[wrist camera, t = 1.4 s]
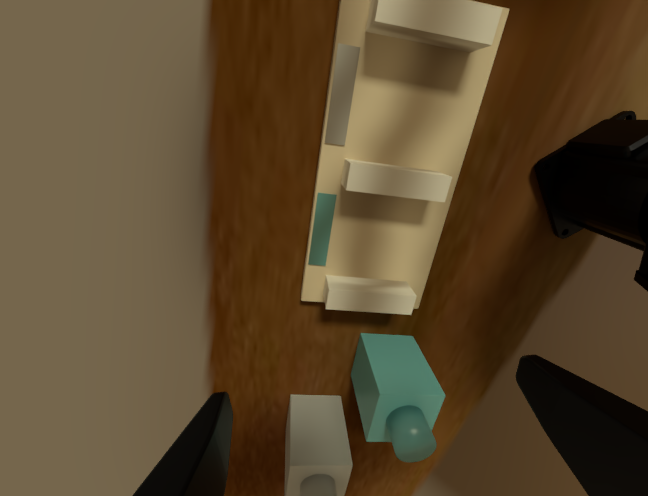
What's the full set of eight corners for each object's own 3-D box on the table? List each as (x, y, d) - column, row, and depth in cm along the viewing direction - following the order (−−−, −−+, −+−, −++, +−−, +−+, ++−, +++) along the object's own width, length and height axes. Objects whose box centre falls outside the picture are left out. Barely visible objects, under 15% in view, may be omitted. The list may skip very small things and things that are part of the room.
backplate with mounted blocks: (500, 13, 17) (536, -5, 15) (414, 302, 24) (428, 324, 22) (342, -22, 16) (352, -49, 13) (300, 294, 23) (301, 317, 20)
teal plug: (412, 335, 26) (460, 423, 18) (400, 376, 27) (439, 471, 20) (360, 333, 25) (389, 422, 18) (350, 374, 27) (373, 472, 19)
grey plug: (340, 395, 28) (358, 496, 20) (332, 430, 29) (346, 534, 22) (290, 394, 27) (290, 498, 20) (285, 429, 29) (283, 537, 21)
